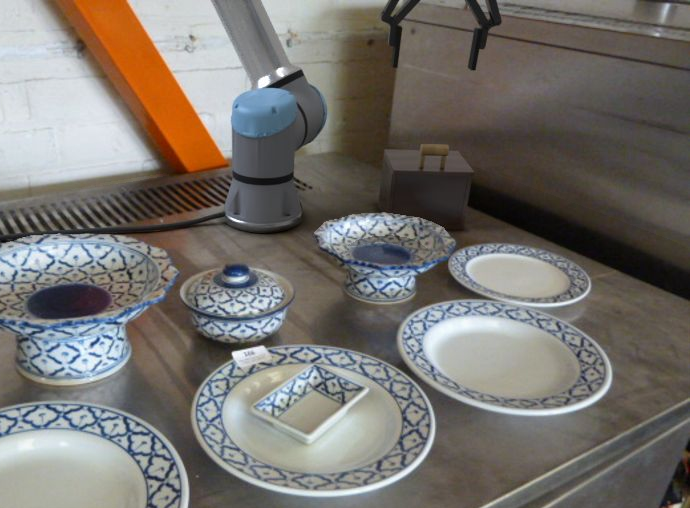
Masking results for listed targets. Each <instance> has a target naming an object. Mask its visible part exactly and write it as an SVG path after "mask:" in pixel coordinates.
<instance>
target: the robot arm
mask: <svg viewBox="0 0 690 508" xmlns="http://www.w3.org/2000/svg"><path fill="white" fill-rule="evenodd" d="M484 1H485V6H486V9H487V13H488V16H489V18H488V17H487V15H486V14H485V13H484V11H483V9H482V7H481V6H480V4H479V2H478V0H464V2H465V4H466V5H467V7H468V9H469V10H470V12H471V14H472V15H473V17H474V19H475V21H476V22H477V24H478V26H479V27H474V28H473V35H472V40H471V46H470V52H469V57H468V62H467V64H468V65H467V69H468V70H470V71H477V64H478V59H479V54H480V50H485V48H486V46H487V41H488V36H489V31H490V30H491V29H492V28H494V27H499V26H501V24H502V22H503V20H502V16H501V13H500V9H499V5H498V1H497V0H484ZM210 2H211V4H212V6H213V8H214V10H215V12H216V14H217V16H218V18H219V20H220V22H221V25H222V27H223V29H224V31H225V33H226V35H227V37H228V39H229V41H230V43H231V45H232V47H233V49H234V51H235V53H236V56H237V58H238V59H239V61H240V64H241V66H242V68H243V70H244V73H245V75H246V76H247V78H248V80H249V82H250V85H251V86H250V90H247V91H244V92H242V93H240V94H238V95H237V96H236V97H235V99H234V100H233V102H232V105H231V115H230V125H231V160H232V161H231V166H232V167H231V171H232V178H231V179H232V180H231V183H230V186H229V190H228V193H227V196H226V199H225V201H224V205H223V208H222V210H223V211H221V212H217V213H212V214H209V215H206V216H202V217H199V218H195V219H190V220H189V219H188V220H184V221H179V222H171V223H164V224H152V225H134V226H133V225H132V226H131V225H129V226H110V227H109V226H108V227H88V228H72V229H71V228H69V229H53V230H43V231H42V230H41V231H28V232H19V233H18V232H17V233H8V234H6V233H5V234H0V241H8V240H19V239H18V238H20V239H23V238H22V237H26V236H30V235H43V234H58V233H63V234H72V235H86V234H85V233H90V234H109V233H110V234H111V233H133V232H150V231H162V230H170V229H178V228H183V227H189V226H194V225H198V224H201V223H205V222H209V221H213V220H216V219H220V218H223V221H224V222H225V224H227V226H230V227H231V228H234V229H236V230H240V231H243V232H249V233H256V234H257V233H258V234H266V233H267V234H269V233H271V234H272V233H278V232H283V231H288V230H291V229H293V228H295V227H297V226H298V225H299V224H300V223H301V221H302V219H303V218H302V217H303V216H302V214H303V206H302V203H301V201H300V199H299V194H298V191H297V188H296V184H295V177H294V176H295V157H296V156H295V155H296V154H295V153H296V152H297V151H299V150H300V149H301V148H303V147H304V146H307V145H308V144H311V143H312V142H313V141H314V140H315V139H317V137H319V134H321V132H322V131H323V129H324V128H325V125H326V122H327V118H328V106H327V101H326V99H325V96H324V95H323V93H322V92H321V90H320V89H319V88H318V87H316V86H315V85H313V84H312V83H309V81H308V80H307V77H306V75H305V73H304V71H303V69H302V67H300V66H298V65H295V64H293V63H291V61H290V59H289V57H288V55H287V53H286V51H285V48H284V46H283V44H282V42H281V40H280V38H279V36H278V34H277V32H276V30H275V27H274V25H273V23H272V21H271V18H270V16H269V15H268V12H267V10H266V7H265V6H264V4H263V2H262V0H210ZM399 2H400V0H387V2H386V4H385V5H384V7H383V9H382V10H381V13H380V14H379V20H381V22H383V23H386V24H387V25H388V36H387V44H388V46H389V47H392V55H391V62H390V66H391V67H392V68H394V69H398V67H399V58H400V50H401V42H402V35H403V26H402V25H400V23H402V21H403V20H404V19H405V18H406V17H407V16H408V15H409V14H410V13H411V12H412V10H413V9H414V8H416V6H417V5H418V4H419V3H420V2H421V0H406V1H405V2H404V3H403V4H402V6H400V8H399V9H398V10H397V11H396V12H395V13H394V14H393V12H394V10H395V9H396V7H397V6H398V4H399ZM392 14H393V16H392Z"/></svg>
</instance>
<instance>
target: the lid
mask: <svg viewBox="0 0 690 508" xmlns="http://www.w3.org/2000/svg"><path fill="white" fill-rule="evenodd" d="M384 154H385V156H386V159H387V161H388V163H389V166H390V168H391V170H392V173H393V174H396V175H436V176H472V177H475V173H476V172H475V171H474V170H473V168H472V167H471V165H470V164H469V163H468V162H467V160H466V159H465V158H464V157H463V155H462V154H461V153H460V151H459V150H450V145H449V144H440V143H439V144H436V143H435V144H433V143H421V144H420V145H419V149H398V148H397V149H396V148H394V149H392V148H384V150H383V155H384Z"/></svg>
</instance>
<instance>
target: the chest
mask: <svg viewBox="0 0 690 508" xmlns="http://www.w3.org/2000/svg"><path fill="white" fill-rule="evenodd" d="M381 167H382V168H381V176H380V177H381V178H380V186H379V194H378V195H379V196H378V204H377V205H378V209H379V212H380V213H381V212H386V213H393V214H400V215H406V216H414V217H420V218H423V219H426V220H428V221H432V222H434V223H436V224H438V225H440V226H442V227H444V228H445V229H446V230H445V231H463V230H464V225H465V220H466V215H467V210H468V204H469V198H470V192H471V186H472V181H473V176H436V175H396V174H393V173H392V170H391V168H390V166H389V163H388V161H387V159H386V156H385V154H384V153H383V158H382V166H381Z"/></svg>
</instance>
